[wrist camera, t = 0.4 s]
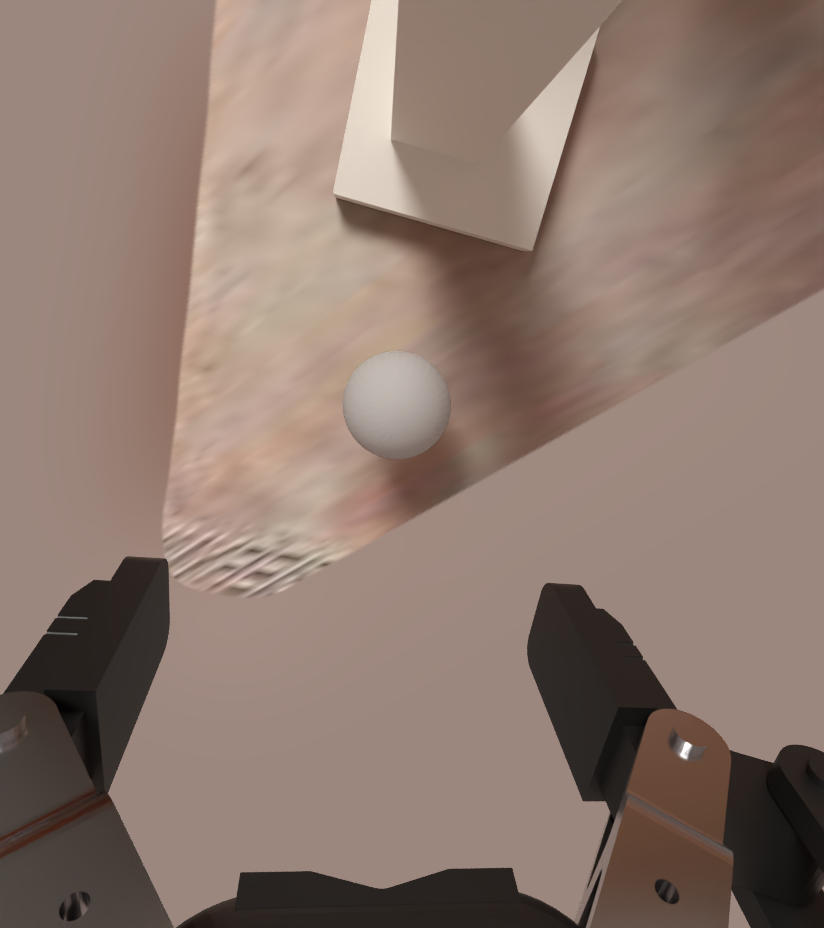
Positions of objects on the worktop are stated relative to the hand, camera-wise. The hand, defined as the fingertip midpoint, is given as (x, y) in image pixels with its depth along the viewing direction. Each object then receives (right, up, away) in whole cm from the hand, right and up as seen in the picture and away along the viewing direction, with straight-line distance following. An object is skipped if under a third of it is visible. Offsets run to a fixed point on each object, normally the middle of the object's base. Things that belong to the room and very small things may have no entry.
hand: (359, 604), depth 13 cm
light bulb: (0, +9, +26) cm, 28 cm away
